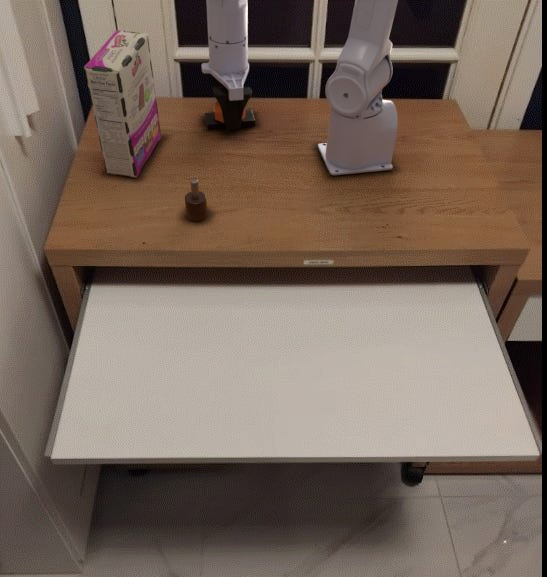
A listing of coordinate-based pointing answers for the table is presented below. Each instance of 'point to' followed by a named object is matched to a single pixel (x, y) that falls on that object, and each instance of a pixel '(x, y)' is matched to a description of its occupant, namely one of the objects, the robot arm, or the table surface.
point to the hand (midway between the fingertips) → (229, 119)
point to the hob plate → (216, 124)
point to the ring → (220, 112)
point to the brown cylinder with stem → (195, 203)
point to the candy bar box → (124, 102)
